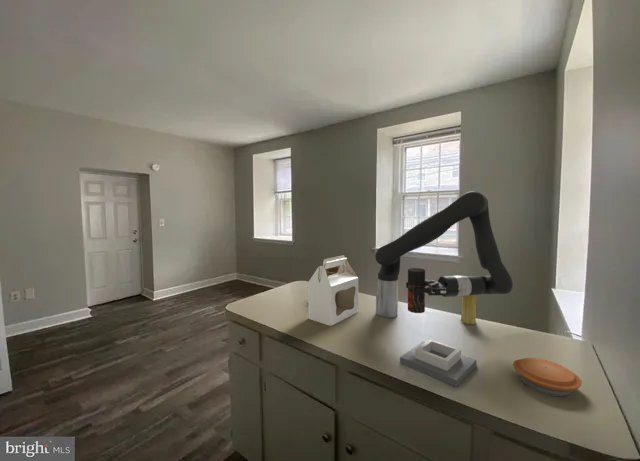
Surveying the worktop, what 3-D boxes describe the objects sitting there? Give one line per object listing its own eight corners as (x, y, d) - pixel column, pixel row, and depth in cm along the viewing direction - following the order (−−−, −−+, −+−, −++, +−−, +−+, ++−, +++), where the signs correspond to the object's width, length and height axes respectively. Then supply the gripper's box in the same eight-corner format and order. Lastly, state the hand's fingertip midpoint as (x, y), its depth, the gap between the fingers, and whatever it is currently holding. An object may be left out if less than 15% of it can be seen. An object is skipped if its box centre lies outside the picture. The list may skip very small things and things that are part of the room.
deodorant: (426, 313, 102) (426, 271, 101) (408, 312, 103) (408, 271, 102) (423, 307, 108) (423, 268, 107) (406, 307, 109) (407, 268, 108)
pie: (595, 395, 78) (596, 377, 78) (554, 407, 74) (555, 388, 73) (537, 365, 93) (538, 350, 92) (500, 373, 88) (501, 358, 88)
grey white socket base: (399, 362, 95) (400, 348, 94) (423, 346, 106) (423, 333, 105) (456, 387, 82) (457, 370, 81) (476, 365, 93) (476, 350, 92)
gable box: (330, 326, 124) (330, 262, 122) (307, 319, 133) (307, 258, 130) (358, 312, 141) (359, 255, 139) (337, 306, 149) (337, 252, 147)
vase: (463, 318, 133) (464, 287, 131) (478, 321, 128) (479, 290, 127) (458, 321, 128) (459, 290, 127) (473, 325, 124) (474, 293, 123)
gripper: (444, 271, 113) (402, 273, 112) (465, 280, 99) (417, 282, 97) (444, 290, 114) (402, 292, 112) (465, 302, 99) (417, 304, 98)
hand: (409, 287), depth 105 cm, fingers closed on deodorant, 6 cm apart
